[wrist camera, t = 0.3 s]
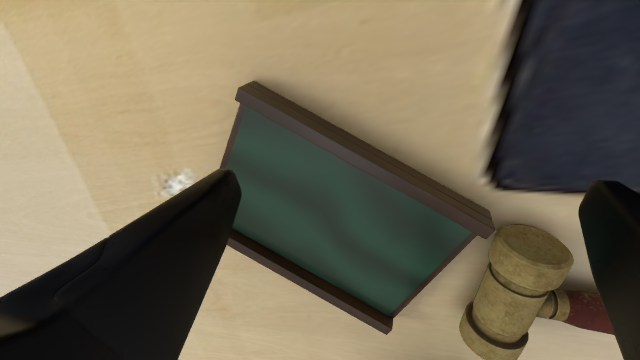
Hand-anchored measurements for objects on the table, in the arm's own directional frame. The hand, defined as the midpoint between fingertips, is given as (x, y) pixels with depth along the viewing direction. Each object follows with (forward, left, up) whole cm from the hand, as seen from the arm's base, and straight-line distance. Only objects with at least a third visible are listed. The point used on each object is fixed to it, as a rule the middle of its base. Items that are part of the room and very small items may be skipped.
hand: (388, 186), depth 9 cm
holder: (-13, 0, -15) cm, 20 cm away
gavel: (-7, -22, -15) cm, 28 cm away
